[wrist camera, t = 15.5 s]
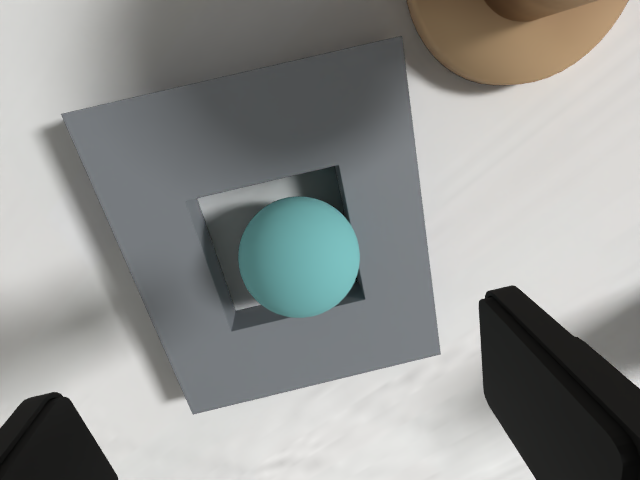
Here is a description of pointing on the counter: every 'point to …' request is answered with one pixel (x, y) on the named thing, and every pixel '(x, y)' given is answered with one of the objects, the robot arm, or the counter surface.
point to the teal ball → (299, 257)
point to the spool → (512, 35)
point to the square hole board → (258, 167)
